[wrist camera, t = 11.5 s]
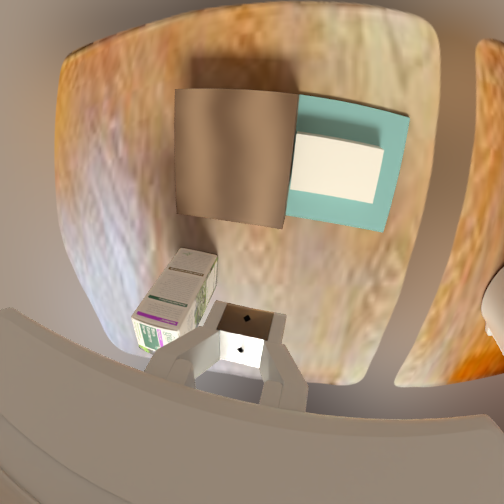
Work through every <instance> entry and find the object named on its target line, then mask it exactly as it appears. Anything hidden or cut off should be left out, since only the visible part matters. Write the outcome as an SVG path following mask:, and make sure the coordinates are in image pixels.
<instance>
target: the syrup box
mask: <svg viewBox="0 0 504 504" xmlns="http://www.w3.org/2000/svg"><path fill="white" fill-rule="evenodd" d="M217 260H218V256H217V255H214V254H210V253H206V252H201V251H196V250H191V249H186V248H180V249H179V251H178V252H177V253H176V255H175V256H174V257H173V259H172V260H171V261H170V263H169V264H168V265H167V267H166V268H165V269H164V271H163V272H162V274H161V275H160V276H159V278H158V279H157V281H156V282H155V283H154V285H153V286H152V288H151V289H150V290H149V292H148V293H147V295H146V296H145V297H144V299H143V300H142V302H141V303H140V305H139V306H138V307H137V309H136V310H135V312H134V313H133V315H132V316H131V318H132V322H133V326H134V330H135V333H136V337H137V341H138V344H139V348H140V349H142V350H143V351H146V352H148V353H151V354H153V355H154V353H155V351H156V350H157V349H159V348H161V347H162V346H164V345H166V344H168V343H170V342H172V341H173V340H175V339H177V338H179V337H181V336H183V335H184V334H186V333H188V332H190V331H192V330H193V329H195V328H197V327H198V325H199V322H200V320H201V318H202V316H203V314H204V312H205V309H206V307H207V305H208V303H209V301H210V299H211V296H212V294H213V292H214V290H215V288H216V282H217Z"/></svg>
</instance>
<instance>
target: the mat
mask: <svg viewBox="0 0 504 504" xmlns="http://www.w3.org/2000/svg"><path fill="white" fill-rule="evenodd" d="M409 120H410V118H408V117H405V116H402V115H398V114H394V113H391V112H387V111H383V110H379V109H375V108H371V107H367V106H362V105H358V104H353V103H348V102H343V101H338V100H332V99H326V98H320V97H314V96H307V95H300V96H299V106H298V115H297V125H296V134H297V131H299V132H306V133H313V134H319V135H326V136H331V137H337V138H342V139H348V140H353V141H358V142H362V143H367V144H371V145H376V146H380V147H381V148H382V149H384V153H383V159H382V164H381V169H380V173H379V178H378V183H377V187H376V191H375V196H374V200H373V204H371V203H366V202H361V201H356V200H351V199H345V198H340V197H334V196H328V195H323V194H317V193H311V192H304V191H298V190H291V189H290V186H291V177H292V169H293V160H294V151H295V143H294V151H293V160H292V168H291V176H290V185H289V192H288V200H287V208H286V215H288V216H294V217H300V218H306V219H312V220H318V221H324V222H330V223H335V224H341V225H346V226H352V227H357V228H362V229H368V230H373V231H378V232H383V231H384V228H385V224H386V221H387V217H388V214H389V210H390V207H391V203H392V199H393V195H394V191H395V187H396V183H397V179H398V175H399V171H400V166H401V162H402V157H403V152H404V147H405V142H406V137H407V132H408V126H409ZM296 134H295V142H296Z"/></svg>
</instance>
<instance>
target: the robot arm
mask: <svg viewBox="0 0 504 504" xmlns="http://www.w3.org/2000/svg"><path fill="white" fill-rule="evenodd" d="M481 311H482V316H483V318H484V319H485V321H486V327H485V331H486V333H487V334H488V335H489V336H492V335H493V337H494V339H495V340H496V342H497V344H498V346H499V348H500V349H501V351H502V353H503V355H504V267H503V268H502V269H501V270H500V271H499V272H498V273H497V274H496V276H495V277H494V278H493V280H492V281H491V283H490V284H489V286H488V288H487V290H486V292H485V294H484V297H483V301H482V306H481ZM285 322H286V314H281V313H274V312H269V311H264V310H259V309H253V308H248V307H244V306H239V305H235V304H231V303H226V302H222V301H218V300H216V301H215V302H214V304H213V307H212V309H211V311H210V313H209V315H208V317H207V319H206V321H205V323H204V325H203V327H202V326H199V327H197V328H195V329H193V330H192V331H190V332H188V333H186V334H184V335H183V336H181V337H179V338H177V339H175V340H173V341H172V342H170V343H168V344H166V345H164V346H162V347H161V348H159V349H157V350H156V351H155V353H154V355H153V356H152V358H151V360H150V362H149V363H148V365H147V367H146V369H145V370H144V372H143V371H140V370H138V369H135V368H131V367H130V366H127V365H125V364H122V363H120V362H117V361H115V360H112V359H110V358H108V357H106V356H103V355H101V354H99V353H96V352H94V351H92V350H90V349H88V348H86V347H83V346H81V345H79V344H77V343H75V342H73V341H71V340H69V339H67V338H65V337H63V336H61V335H59V334H57V333H56V332H54V331H52V330H50V329H48V328H46V327H44V326H43V325H41V324H39V323H37V322H36V321H34V320H32V319H30V318H29V317H27V316H25V315H24V314H22V313H21V312H19V311H17V310H16V309H14V308H10V307H9V308H5V309H1V310H0V504H504V433H503V432H502V431H501V429H500V428H499V427H498V426H497V424H496V423H495V422H494V421H493V420H492V419H491V418H490V417H489V416H488V415H485V414H481V415H472V416H463V417H451V418H436V419H399V420H398V419H368V418H352V417H339V416H330V415H321V414H313V413H306V412H305V411H306V403H307V394H308V385H307V383H306V381H305V379H304V378H303V376H302V374H301V372H300V371H299V369H298V367H297V365H296V364H295V362H294V360H293V358H292V356H291V355H290V353H289V351H288V349H287V347H286V346H285V345H284V344H281V343H282V338H283V333H284V327H285ZM220 359H223V360H228V361H233V362H238V363H242V364H246V365H250V366H254V367H258V368H259V370H260V373H261V376H262V378H263V381H264V387H263V391H262V394H261V398H260V403H259V404H254V403H249V402H244V401H240V400H236V399H231V398H227V397H224V396H219V395H216V394H212V393H208V392H205V391H201V390H198V389H196V385H195V378H197V377H198V376H199V375H201V374H202V373H203V372H204V371H206V370H207V369H208V368H210V367H211V366H212V365H214V364H215V363H216V362H217V361H219V360H220Z"/></svg>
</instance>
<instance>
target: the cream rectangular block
mask: <svg viewBox="0 0 504 504" xmlns="http://www.w3.org/2000/svg"><path fill="white" fill-rule="evenodd" d="M383 153H384V149H382V148H381V147H380V146H376V145H371V144H367V143H362V142H358V141H353V140H348V139H342V138H337V137H331V136H326V135H319V134H313V133H306V132H299V131H297V134H296V142H295V151H294V160H293V169H292V177H291V186H290V189H291V190H298V191H304V192H311V193H317V194H323V195H328V196H334V197H340V198H345V199H351V200H356V201H361V202H366V203H371V204H373V200H374V196H375V191H376V187H377V183H378V178H379V173H380V169H381V164H382V159H383Z"/></svg>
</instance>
